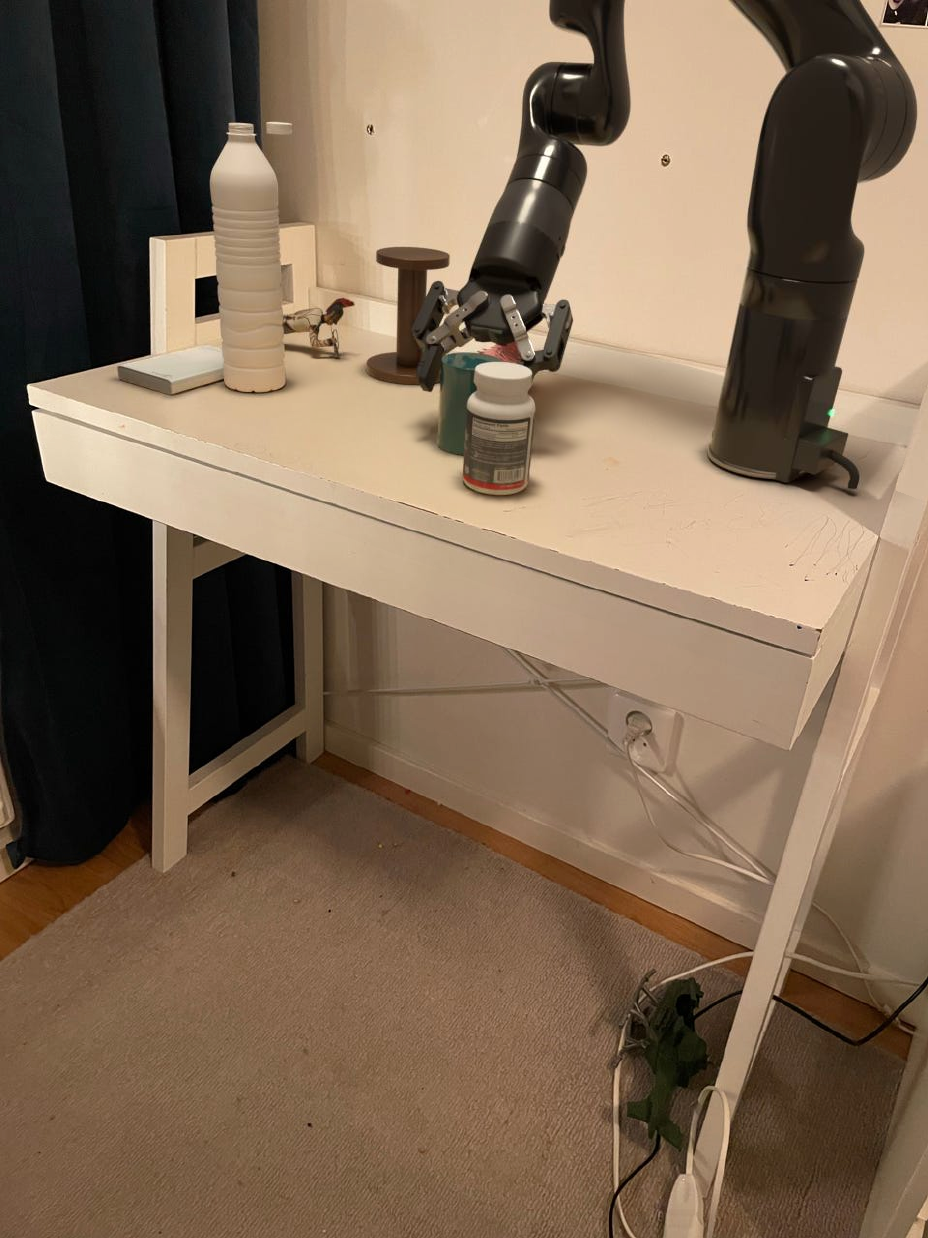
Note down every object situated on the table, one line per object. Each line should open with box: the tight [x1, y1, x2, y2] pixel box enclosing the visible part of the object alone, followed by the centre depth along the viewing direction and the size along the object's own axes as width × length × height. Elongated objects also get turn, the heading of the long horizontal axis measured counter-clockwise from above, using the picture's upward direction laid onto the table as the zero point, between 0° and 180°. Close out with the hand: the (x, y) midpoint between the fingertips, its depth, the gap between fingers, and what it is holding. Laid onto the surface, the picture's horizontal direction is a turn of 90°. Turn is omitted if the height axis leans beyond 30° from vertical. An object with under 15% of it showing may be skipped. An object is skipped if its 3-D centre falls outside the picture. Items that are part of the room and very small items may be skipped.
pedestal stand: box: [365, 246, 451, 386], centre depth 104 cm, size 10×10×13 cm
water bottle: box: [209, 121, 293, 393], centre depth 95 cm, size 9×6×25 cm
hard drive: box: [116, 344, 224, 395], centre depth 101 cm, size 2×8×12 cm
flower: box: [476, 342, 522, 364], centre depth 103 cm, size 8×8×6 cm
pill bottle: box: [462, 362, 536, 496], centre depth 78 cm, size 6×6×10 cm
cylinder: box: [436, 351, 502, 456], centre depth 86 cm, size 6×6×8 cm
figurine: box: [282, 297, 355, 359], centre depth 112 cm, size 6×4×15 cm
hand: (466, 395), depth 84 cm, fingers open, 8 cm apart
